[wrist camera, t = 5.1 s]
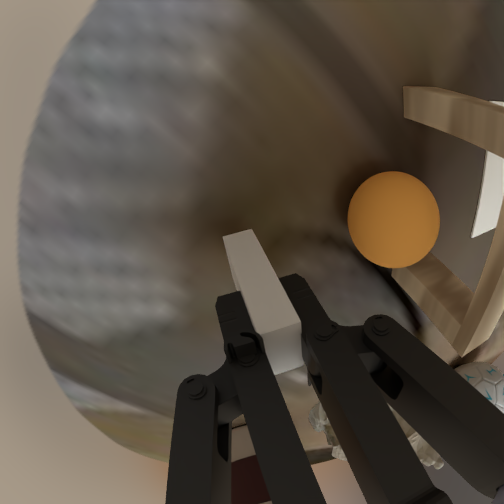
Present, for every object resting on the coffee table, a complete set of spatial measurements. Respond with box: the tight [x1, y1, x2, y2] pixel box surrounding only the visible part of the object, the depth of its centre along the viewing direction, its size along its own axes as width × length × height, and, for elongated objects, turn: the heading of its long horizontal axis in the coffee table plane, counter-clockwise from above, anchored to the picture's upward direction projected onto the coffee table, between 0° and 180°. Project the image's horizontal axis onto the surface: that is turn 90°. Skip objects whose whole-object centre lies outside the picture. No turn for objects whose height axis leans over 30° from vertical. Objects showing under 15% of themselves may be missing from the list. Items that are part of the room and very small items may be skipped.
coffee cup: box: [231, 425, 272, 504], centre depth 26 cm, size 10×10×15 cm
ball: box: [348, 171, 440, 268], centre depth 16 cm, size 6×6×6 cm
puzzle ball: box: [454, 362, 504, 413], centre depth 38 cm, size 15×15×15 cm
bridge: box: [391, 86, 504, 358], centre depth 15 cm, size 3×14×9 cm, turn 9°
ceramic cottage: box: [309, 402, 444, 469], centre depth 31 cm, size 16×16×15 cm
